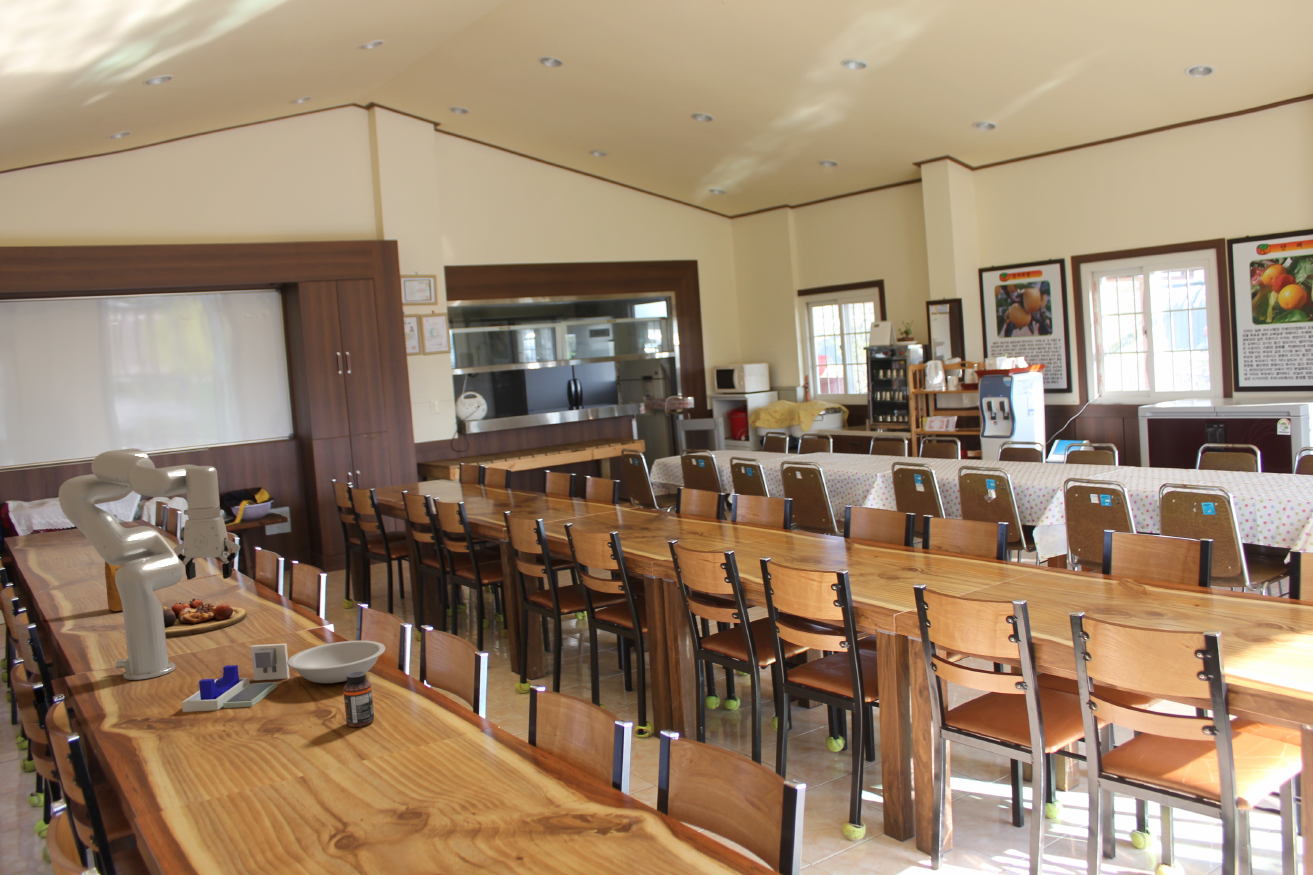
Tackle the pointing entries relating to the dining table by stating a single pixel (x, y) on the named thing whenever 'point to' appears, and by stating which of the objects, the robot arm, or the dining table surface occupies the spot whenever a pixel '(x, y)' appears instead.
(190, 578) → the robot arm
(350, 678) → the supplement bottle
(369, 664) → the soup bowl
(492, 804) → the dining table surface
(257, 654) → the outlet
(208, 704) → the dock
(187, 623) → the wooden plate with food
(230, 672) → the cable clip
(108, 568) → the coffee package
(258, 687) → the phone
